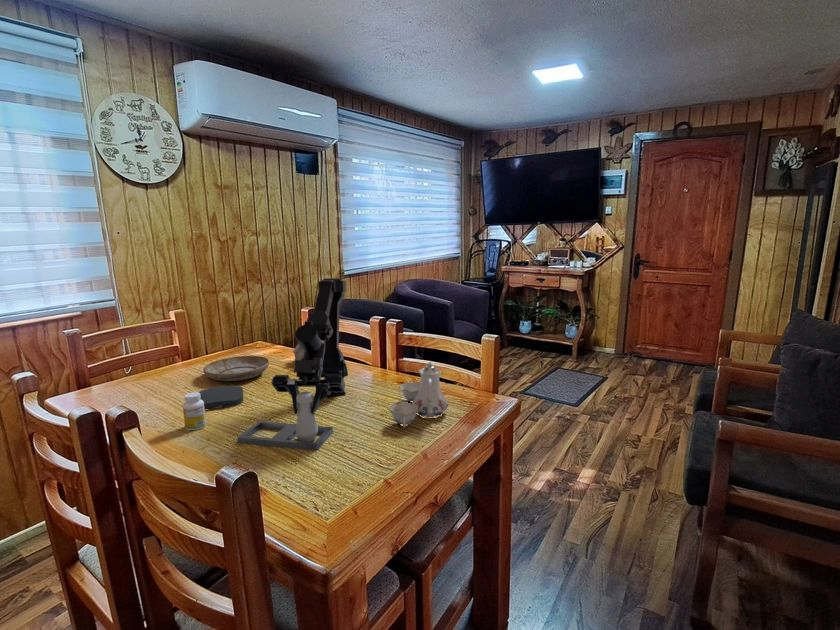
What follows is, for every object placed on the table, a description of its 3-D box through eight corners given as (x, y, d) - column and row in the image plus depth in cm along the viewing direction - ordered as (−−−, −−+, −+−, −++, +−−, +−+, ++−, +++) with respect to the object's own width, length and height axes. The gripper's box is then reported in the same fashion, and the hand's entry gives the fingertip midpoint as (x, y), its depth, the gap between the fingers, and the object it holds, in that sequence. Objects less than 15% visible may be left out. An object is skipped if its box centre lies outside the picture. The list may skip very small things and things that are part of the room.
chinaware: (398, 400, 151) (392, 352, 148) (448, 395, 150) (443, 347, 147) (390, 438, 123) (382, 381, 120) (450, 433, 122) (444, 375, 119)
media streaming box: (197, 396, 152) (196, 388, 151) (243, 391, 157) (242, 382, 156) (192, 413, 138) (191, 404, 138) (243, 406, 143) (242, 397, 143)
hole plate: (237, 442, 118) (237, 437, 118) (259, 425, 128) (259, 420, 128) (316, 450, 114) (316, 445, 113) (332, 432, 124) (332, 427, 123)
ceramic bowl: (247, 363, 188) (246, 351, 187) (282, 373, 174) (281, 361, 173) (192, 378, 170) (190, 366, 169) (227, 391, 156) (226, 377, 155)
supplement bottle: (190, 423, 130) (186, 391, 129) (209, 422, 131) (205, 390, 129) (182, 431, 125) (178, 398, 123) (202, 430, 126) (198, 397, 124)
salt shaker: (317, 443, 118) (315, 396, 115) (295, 445, 117) (291, 398, 114) (319, 433, 123) (316, 388, 121) (297, 434, 122) (294, 389, 120)
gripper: (271, 346, 119) (258, 401, 111) (340, 346, 119) (333, 401, 110) (283, 365, 129) (272, 417, 120) (347, 365, 128) (341, 418, 119)
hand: (304, 413), depth 117 cm, fingers open, 4 cm apart
